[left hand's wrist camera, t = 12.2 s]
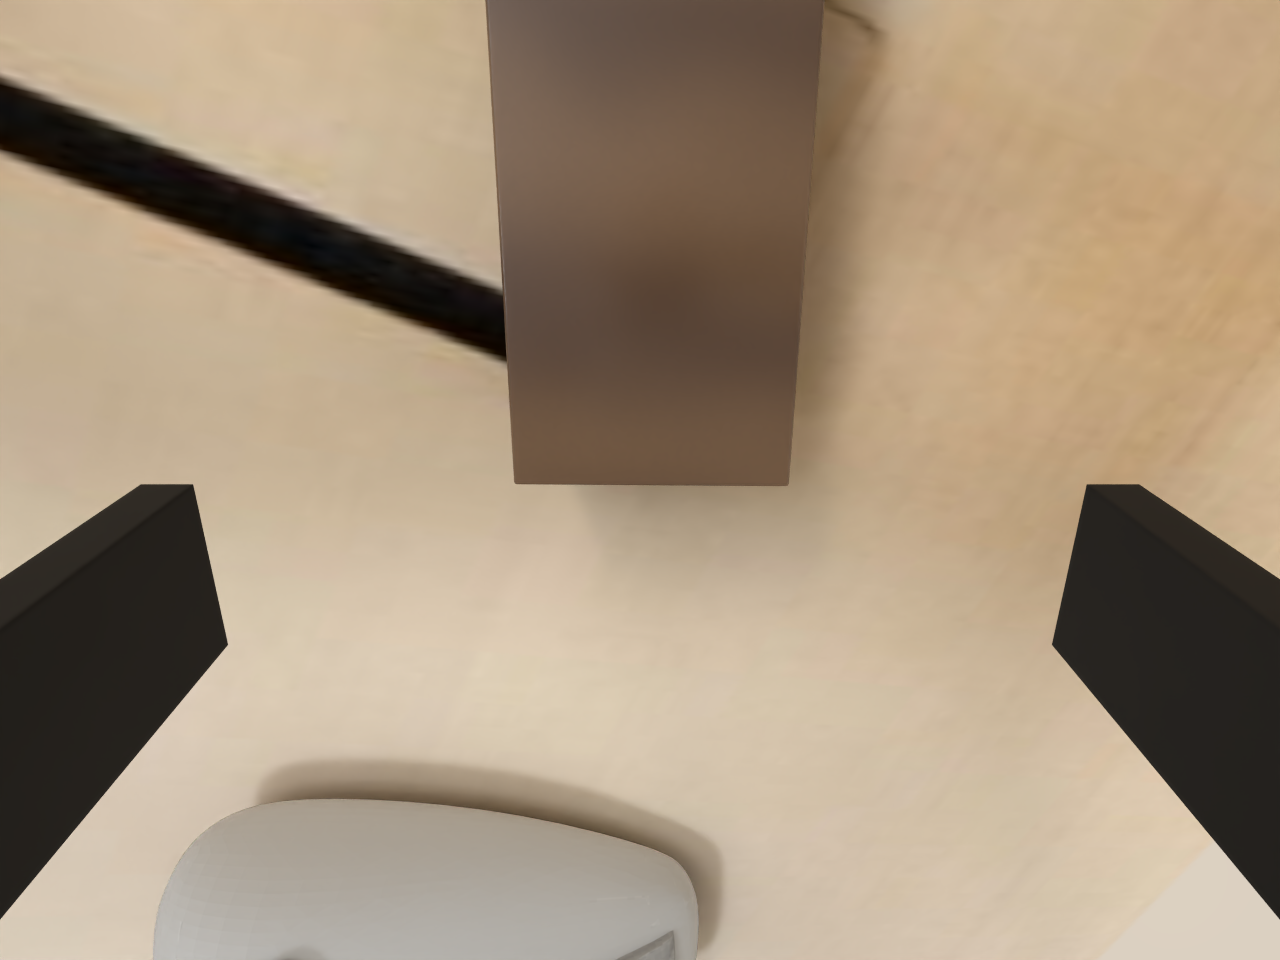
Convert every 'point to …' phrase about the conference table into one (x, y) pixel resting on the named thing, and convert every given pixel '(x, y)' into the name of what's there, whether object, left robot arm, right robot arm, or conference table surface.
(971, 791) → the conference table surface
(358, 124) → the conference table surface
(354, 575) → the conference table surface
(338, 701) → the conference table surface
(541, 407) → the thick board
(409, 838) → the projector
